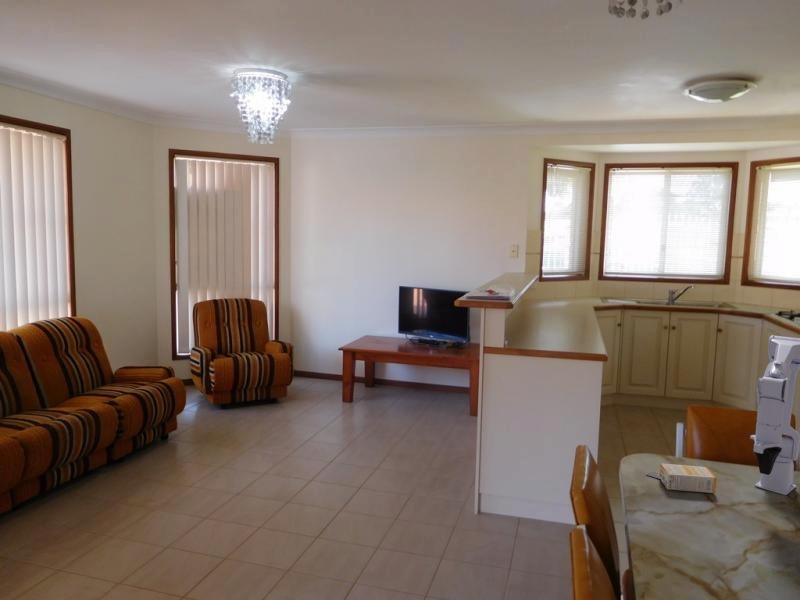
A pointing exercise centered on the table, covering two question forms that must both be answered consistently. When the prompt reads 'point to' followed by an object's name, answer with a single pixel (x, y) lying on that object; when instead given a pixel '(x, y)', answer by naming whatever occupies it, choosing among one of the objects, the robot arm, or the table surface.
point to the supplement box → (687, 478)
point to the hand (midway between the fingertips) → (765, 473)
